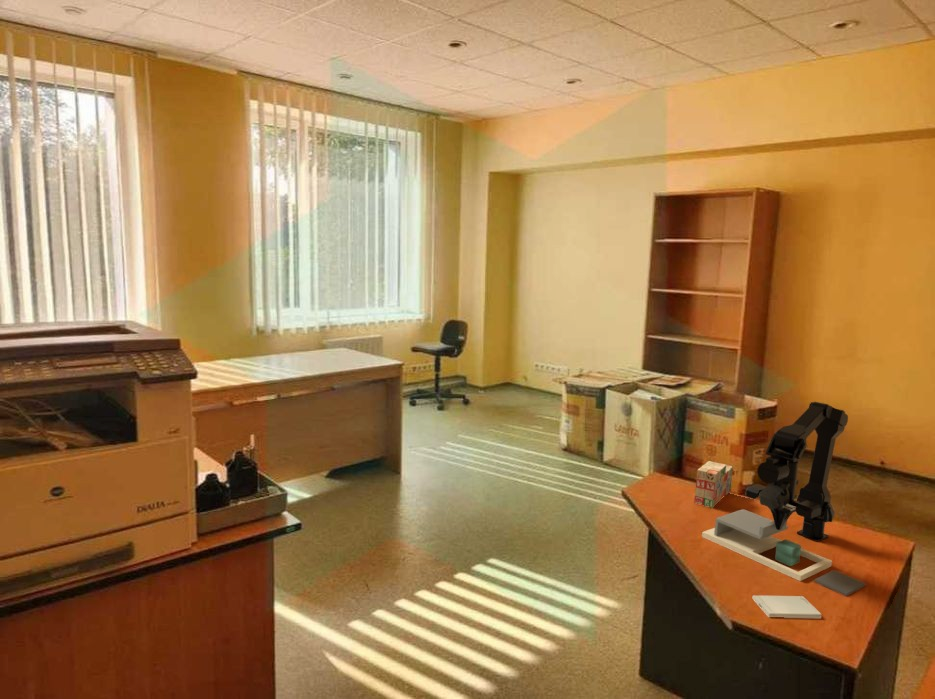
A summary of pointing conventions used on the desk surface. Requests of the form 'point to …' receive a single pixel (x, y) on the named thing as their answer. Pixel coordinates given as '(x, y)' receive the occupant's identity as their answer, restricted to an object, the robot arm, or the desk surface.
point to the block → (788, 552)
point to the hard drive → (786, 606)
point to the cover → (747, 524)
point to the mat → (840, 582)
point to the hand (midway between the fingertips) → (778, 529)
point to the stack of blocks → (712, 483)
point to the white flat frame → (754, 546)
